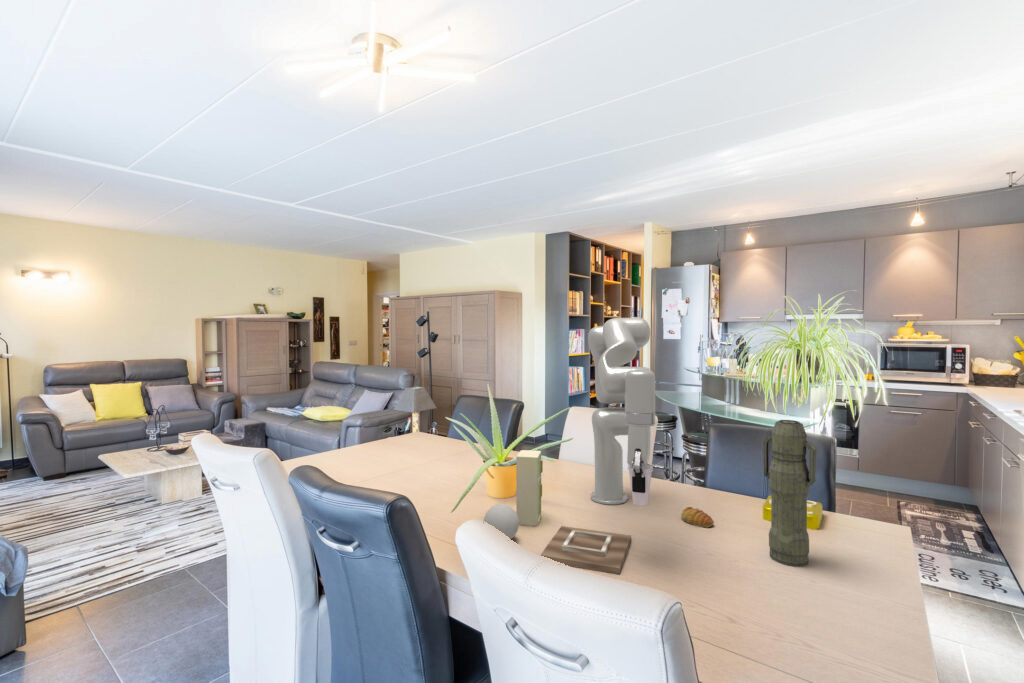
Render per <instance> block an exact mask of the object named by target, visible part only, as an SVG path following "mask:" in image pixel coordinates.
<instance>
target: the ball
mask: <svg viewBox="0 0 1024 683" xmlns="http://www.w3.org/2000/svg"><path fill="white" fill-rule="evenodd" d="M484 521H485V522H487V523H488V524H490V525H492V526H494V527H495V528H496V529H498V530H499V531H501V532H502V533H504V534H505V535H506V536H508V537H509V538H510V540H511V539H513V538H514V537H515V536H516V535H517V533H518V530H519V527H520V525H519V518H518V515H517V510H515V509H514V508H513V507H511V506H510V505H508V504H503V503H498V504H495V505H493V506H492V507H490V508H489V509H488V510H487V511H486V512H485V515H484V518H483V522H484Z"/></svg>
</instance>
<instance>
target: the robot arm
mask: <svg viewBox="0 0 1024 683" xmlns="http://www.w3.org/2000/svg"><path fill="white" fill-rule="evenodd" d="M587 336H588V337H587V338H588V340H587V341H588V347H589V350H590V353H591V354H590V355H592V358H593V362H594V378H595V379H594V381H595V382H594V383H595V384H594V385H595V388H594V390H595V397H596V400H597V401H598V402H599V403H601V404H610V405H611V404H613V405H614V404H618V405H619V404H624V407H616V406H615V407H599V408H597V409H596V410H594V411H593V413H592V415H591V424H592V425H591V426H592V432H593V437H594V438H593V441H594V491H592V492H591V493H590V500H591V501H593V502H594V503H595V502H596V503H598V504H602V505H613V506H615V505H622V504H623V503H624V504H625V503H626V502H627V501H628V494H626V493H625V492H624V490H623V488H624V482H623V481H624V477H623V474H624V473H623V472H624V471H623V470H624V469H623V468H624V467H623V465H624V462H623V461H624V460H623V457H624V456H623V454H624V453H623V447H622V445H621V443H620V442H619V441H618V440H617V439H616V437H619V436H627V453H626V454H627V458H626V459H627V460H626V463H627V465H628V464H629V465H630V463H631V464H632V463H633V476H632V491H633V492H638V493H645V477H644V469H645V466H646V465H647V464H649V460H650V455H651V454H650V453H651V452H650V451H651V427H653V426H656V376H655V373H654V372H653V371H652V370H651V369H650V368H649V367H645V366H623V365H626V364H628V363H630V362H632V361H633V360H634V359H635V358H636V356H637V355H638V354H637V353H638V351H639V350H640V349H641V348H643V347H644V346H646V345H647V344H648V343H649V340H650V338H651V329H650V325H649V323H648V321H647V320H646V319H645V318H642V317H615V318H610V319H608V320H606V322H605V323H604V324H603V325H599V326H595V327H592V328H591V329H589V332H588V335H587ZM640 463H643V464H640ZM640 467H642V469H641V468H640ZM632 491H631V492H632Z"/></svg>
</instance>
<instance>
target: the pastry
mask: <svg viewBox="0 0 1024 683" xmlns="http://www.w3.org/2000/svg"><path fill="white" fill-rule="evenodd" d="M680 516H681V517H680V518H682V520H683V521H684V522H687V523H688V524H690V525H694V526H697V527H700V528H710V527H712V526H714V523H715V522H714V521H715V520H713V518H712V517H711V515H708V513H705V512H704V511H703V509H699V508H694V507H693V506H686V507H685V508H684V509H683V510H682V513H681V515H680Z"/></svg>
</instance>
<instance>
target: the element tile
mask: <svg viewBox="0 0 1024 683" xmlns="http://www.w3.org/2000/svg"><path fill="white" fill-rule="evenodd" d="M762 519H763V520H764V521H766V522H771V494H769V495H768V496H767V498H766V500H765V501H764V503H763V505H762ZM822 520H823V504H822V503H821V502H819V501H814V500H813V501H812V500H808V499H807V530H814V531H815V530H816V531H817V530H820V528H821V525H822V524H821V523H822Z"/></svg>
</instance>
